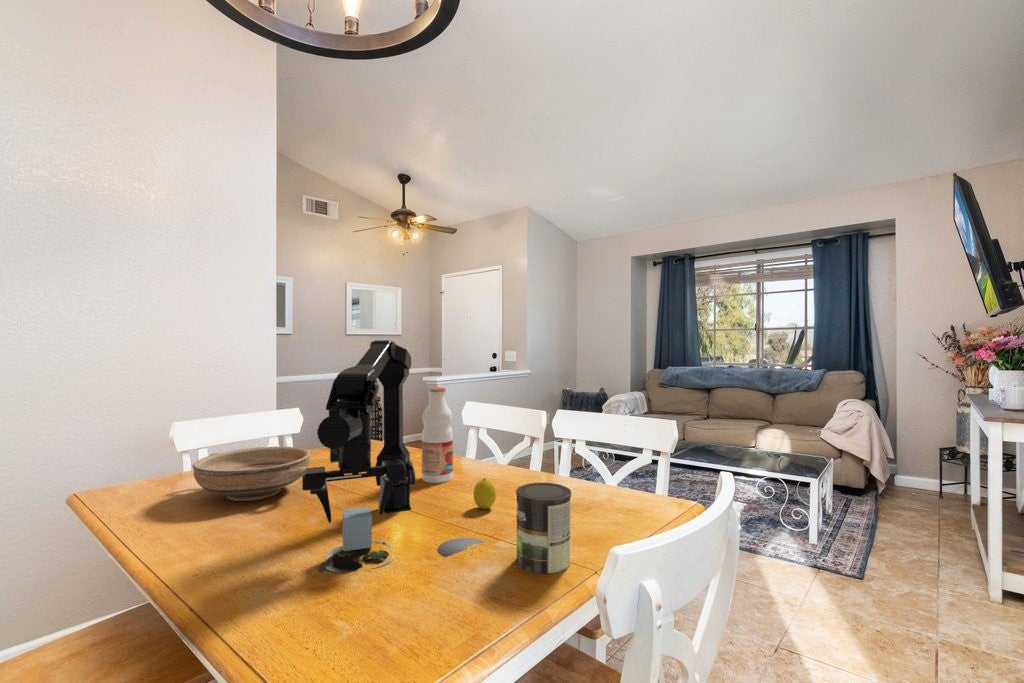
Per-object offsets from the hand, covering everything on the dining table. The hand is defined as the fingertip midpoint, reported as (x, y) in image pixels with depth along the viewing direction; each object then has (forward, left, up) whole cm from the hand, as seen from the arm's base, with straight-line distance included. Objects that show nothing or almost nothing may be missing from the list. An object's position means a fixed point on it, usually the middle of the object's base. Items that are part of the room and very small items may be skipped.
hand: (355, 518), depth 92 cm
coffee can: (-32, +17, -8) cm, 37 cm away
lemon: (-32, -15, -8) cm, 36 cm away
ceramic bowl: (+22, -53, -8) cm, 58 cm away
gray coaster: (-20, +5, -8) cm, 22 cm away
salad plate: (-1, -1, -9) cm, 9 cm away
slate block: (0, 0, -5) cm, 5 cm away
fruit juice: (-28, -46, -8) cm, 54 cm away
